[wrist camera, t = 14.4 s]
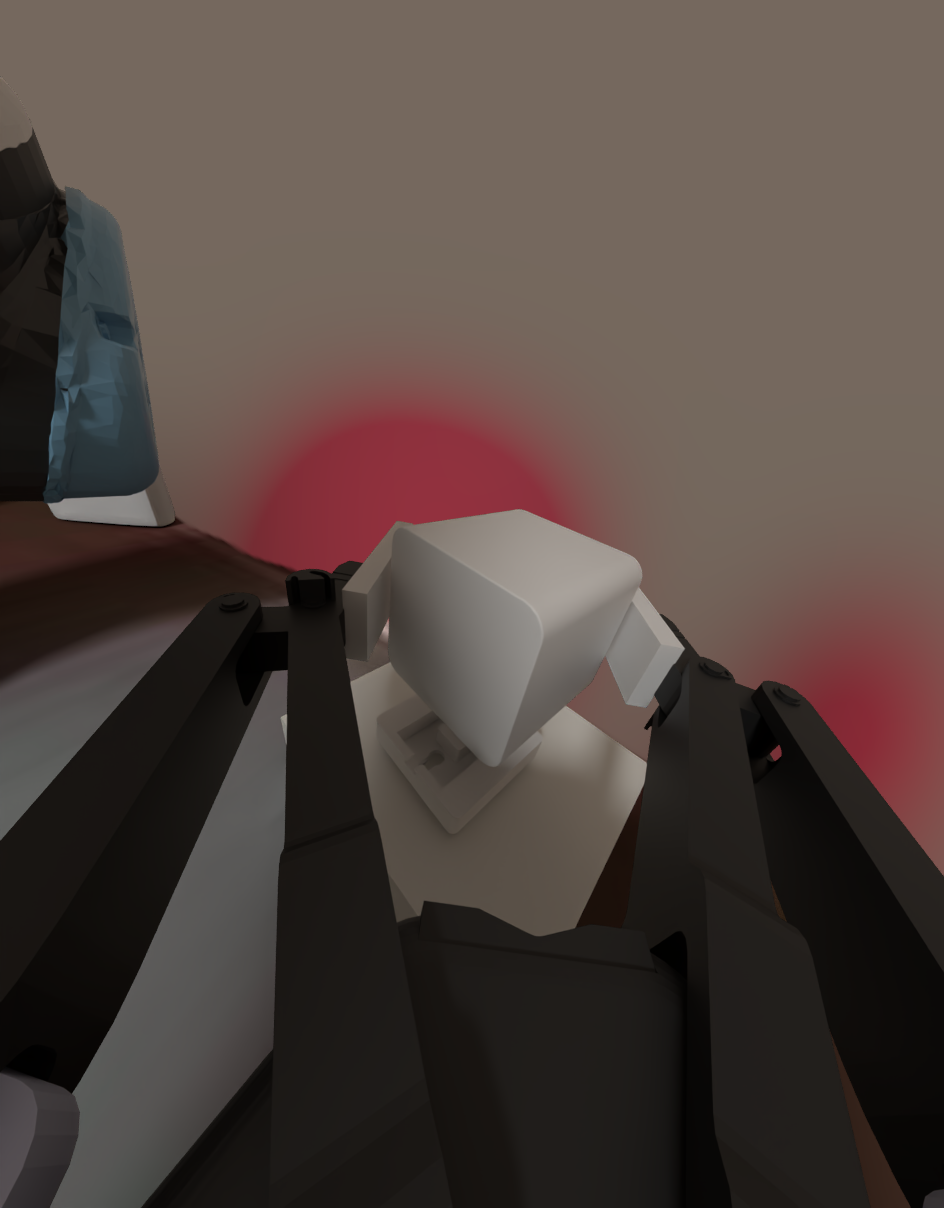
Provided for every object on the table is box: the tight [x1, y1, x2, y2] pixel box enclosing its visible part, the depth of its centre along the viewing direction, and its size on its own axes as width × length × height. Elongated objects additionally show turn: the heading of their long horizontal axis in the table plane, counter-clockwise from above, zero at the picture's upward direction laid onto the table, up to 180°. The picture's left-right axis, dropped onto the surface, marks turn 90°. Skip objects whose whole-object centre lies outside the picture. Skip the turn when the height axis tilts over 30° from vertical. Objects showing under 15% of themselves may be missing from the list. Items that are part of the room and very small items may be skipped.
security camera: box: [376, 509, 642, 834], centre depth 14 cm, size 6×7×10 cm
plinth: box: [281, 662, 647, 936], centre depth 18 cm, size 14×12×4 cm
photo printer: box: [48, 465, 175, 526], centre depth 34 cm, size 10×4×12 cm, turn 98°
